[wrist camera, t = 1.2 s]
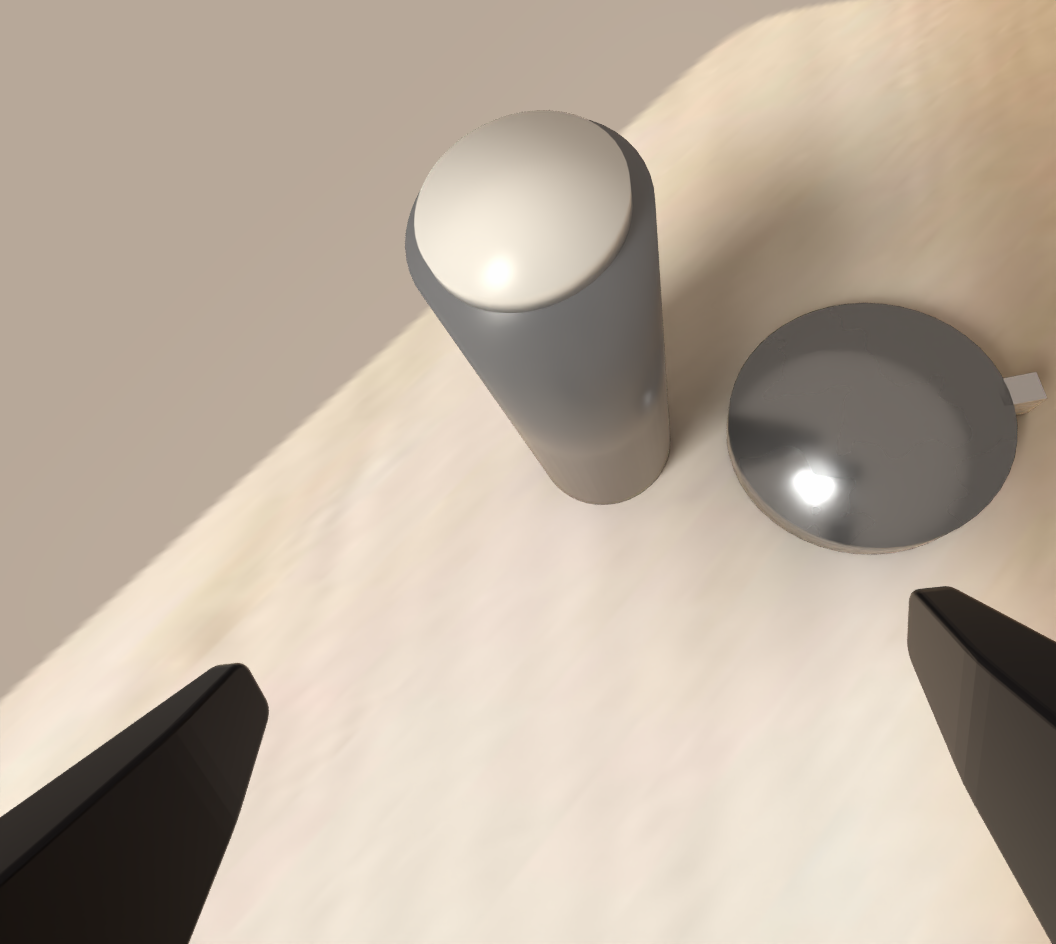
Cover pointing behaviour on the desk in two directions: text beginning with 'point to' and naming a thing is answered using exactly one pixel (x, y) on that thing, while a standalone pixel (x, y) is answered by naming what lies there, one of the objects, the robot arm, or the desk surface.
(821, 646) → the desk surface
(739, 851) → the desk surface
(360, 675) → the desk surface
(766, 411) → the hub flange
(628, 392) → the dark gray cylinder
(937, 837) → the desk surface
